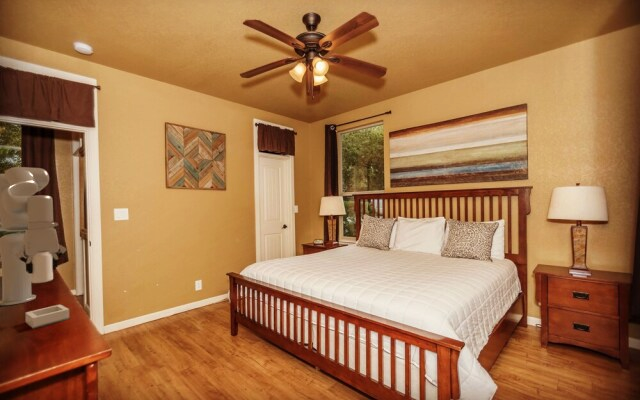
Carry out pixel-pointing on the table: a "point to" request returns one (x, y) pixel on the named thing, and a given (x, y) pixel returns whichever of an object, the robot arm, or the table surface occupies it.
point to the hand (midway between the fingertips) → (42, 270)
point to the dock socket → (47, 316)
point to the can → (42, 267)
